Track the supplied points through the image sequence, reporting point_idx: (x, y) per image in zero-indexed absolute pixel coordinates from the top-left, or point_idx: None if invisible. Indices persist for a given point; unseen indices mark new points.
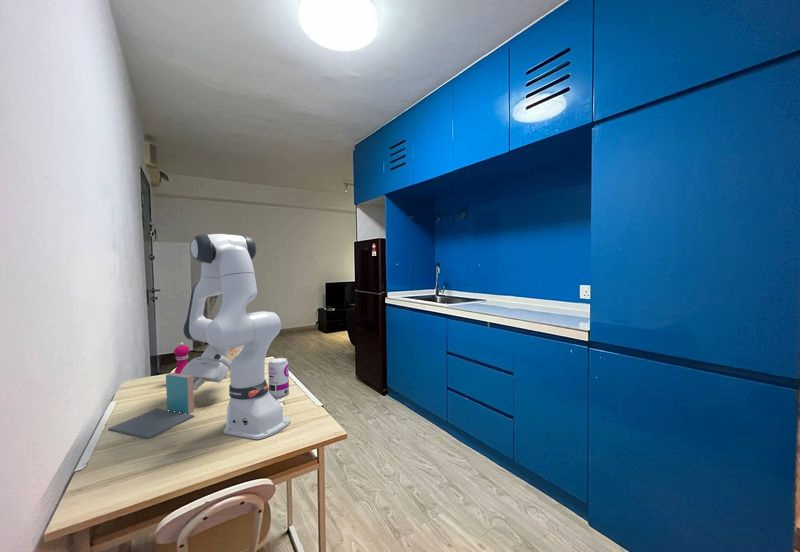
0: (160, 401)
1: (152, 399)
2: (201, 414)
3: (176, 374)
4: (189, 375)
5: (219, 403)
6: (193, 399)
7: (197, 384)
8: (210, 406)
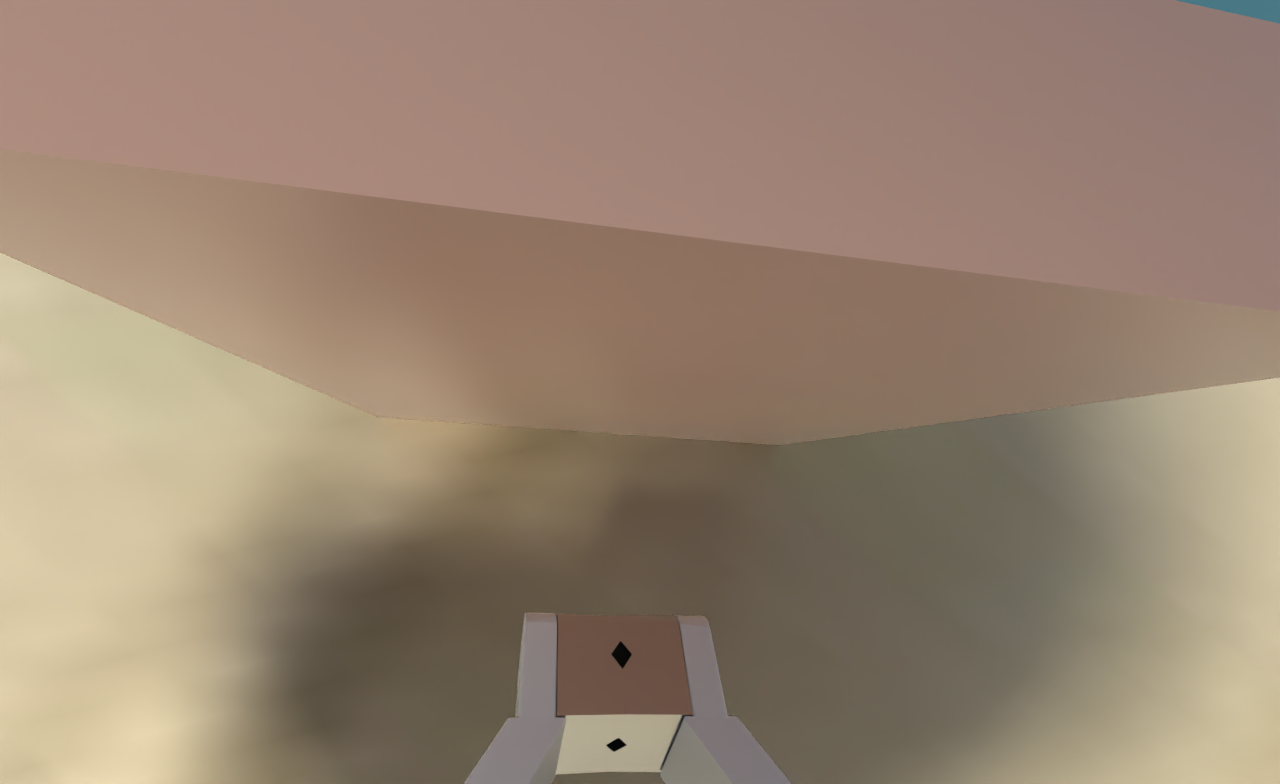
0: (1112, 551)
1: (1255, 571)
2: (158, 350)
3: (1110, 160)
4: (22, 88)
5: (167, 761)
6: (325, 390)
7: (491, 742)
8: (242, 617)
